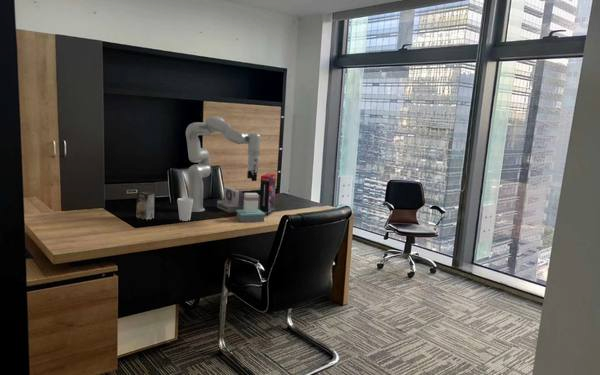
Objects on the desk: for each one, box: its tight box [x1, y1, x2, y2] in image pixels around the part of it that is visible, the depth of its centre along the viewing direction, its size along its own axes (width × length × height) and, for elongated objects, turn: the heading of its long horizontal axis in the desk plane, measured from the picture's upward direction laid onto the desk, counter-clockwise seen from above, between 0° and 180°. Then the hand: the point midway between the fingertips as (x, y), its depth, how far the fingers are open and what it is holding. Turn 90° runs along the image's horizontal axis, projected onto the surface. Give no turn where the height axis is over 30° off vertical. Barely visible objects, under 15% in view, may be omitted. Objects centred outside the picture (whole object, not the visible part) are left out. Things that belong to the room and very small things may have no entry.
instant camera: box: [216, 186, 244, 213], centre depth 313 cm, size 21×21×15 cm
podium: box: [235, 209, 266, 223], centre depth 285 cm, size 16×13×5 cm
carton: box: [243, 192, 260, 213], centre depth 284 cm, size 6×8×12 cm
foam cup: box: [176, 197, 193, 222], centre depth 273 cm, size 10×9×13 cm
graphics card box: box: [259, 172, 277, 216], centre depth 305 cm, size 17×7×27 cm, turn 168°
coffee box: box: [135, 190, 155, 221], centre depth 270 cm, size 9×6×16 cm
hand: (251, 179), depth 281 cm, fingers open, 9 cm apart
